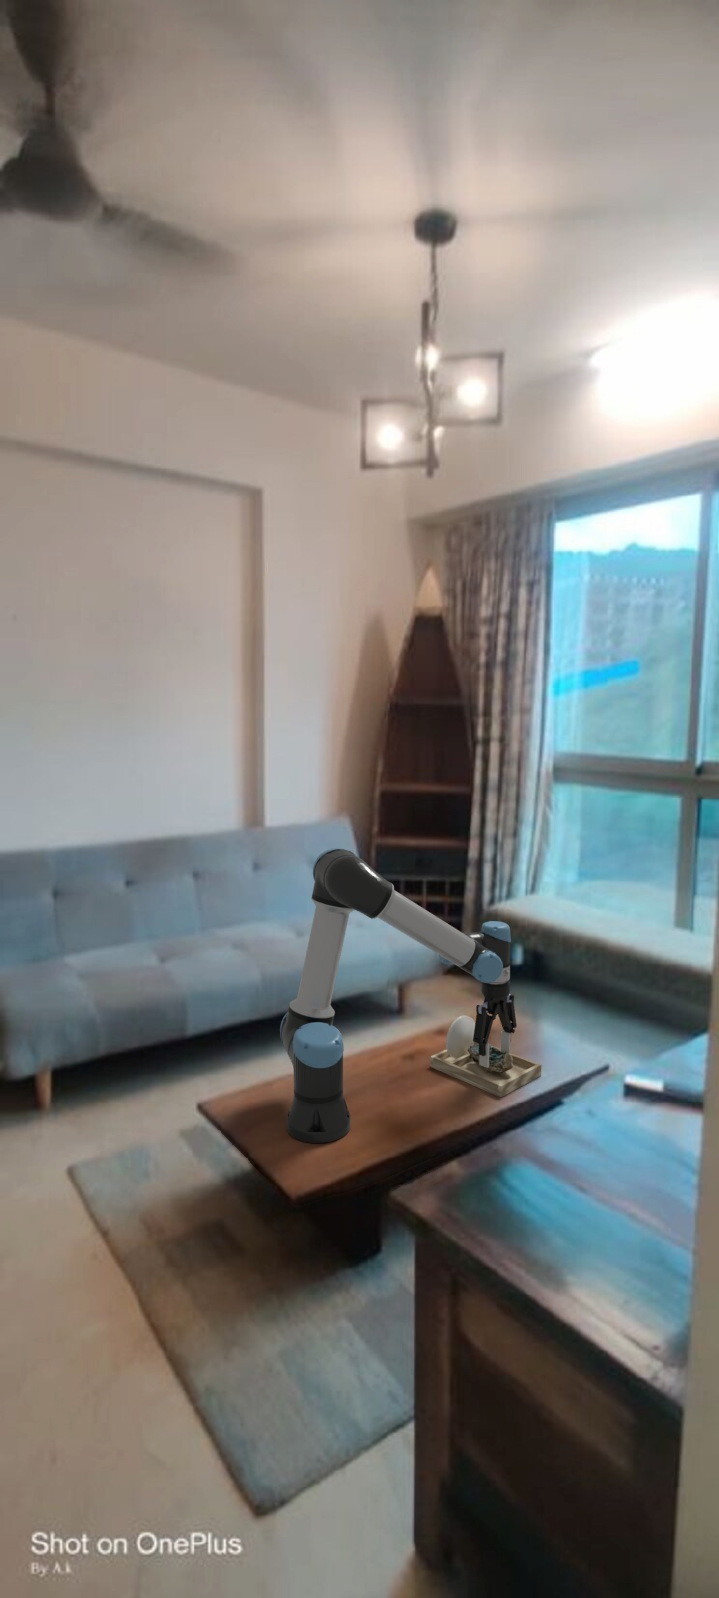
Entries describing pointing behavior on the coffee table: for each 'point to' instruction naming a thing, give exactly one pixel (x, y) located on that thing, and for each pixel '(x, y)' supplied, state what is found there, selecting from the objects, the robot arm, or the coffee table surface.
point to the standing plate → (460, 1036)
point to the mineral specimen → (493, 1059)
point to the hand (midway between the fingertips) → (495, 1060)
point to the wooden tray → (485, 1080)
